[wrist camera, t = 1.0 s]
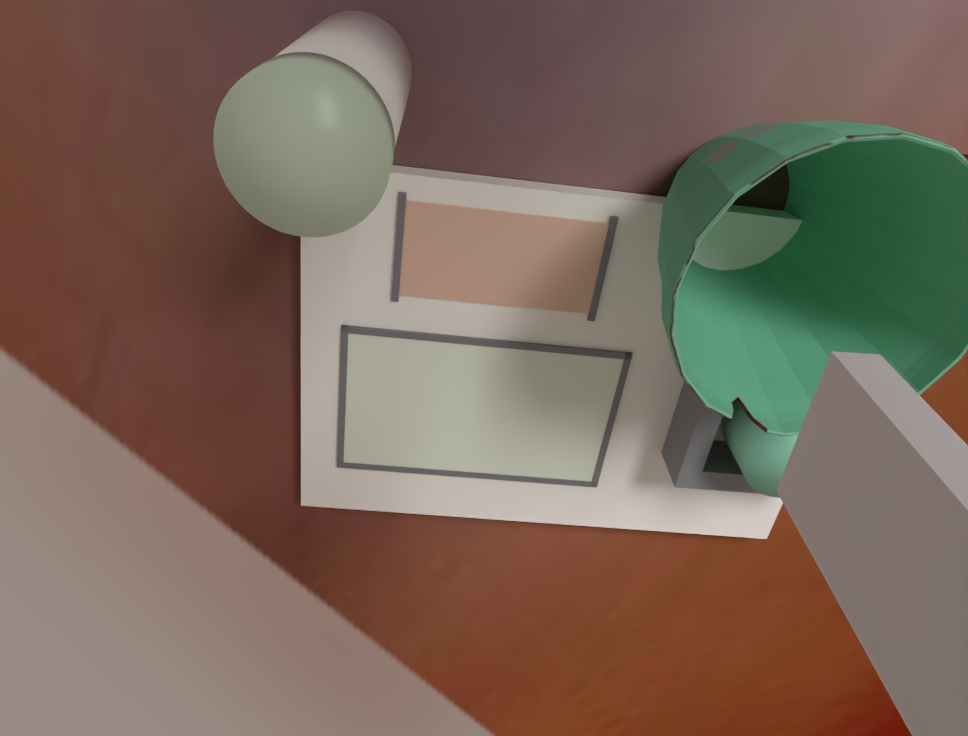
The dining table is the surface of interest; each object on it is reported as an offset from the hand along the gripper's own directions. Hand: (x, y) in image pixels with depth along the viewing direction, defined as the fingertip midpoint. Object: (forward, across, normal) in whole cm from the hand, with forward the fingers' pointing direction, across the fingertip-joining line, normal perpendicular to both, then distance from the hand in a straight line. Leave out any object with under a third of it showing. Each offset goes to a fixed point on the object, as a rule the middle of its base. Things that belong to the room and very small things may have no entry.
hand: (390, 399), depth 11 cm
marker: (+19, -3, +1) cm, 20 cm away
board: (+19, +7, -11) cm, 23 cm away
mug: (+20, +15, -2) cm, 25 cm away
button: (+17, +16, -11) cm, 25 cm away
